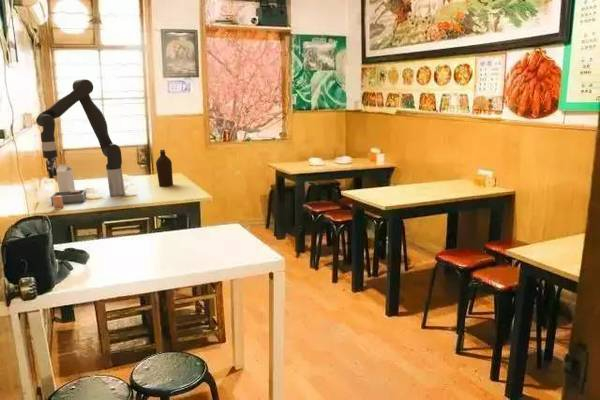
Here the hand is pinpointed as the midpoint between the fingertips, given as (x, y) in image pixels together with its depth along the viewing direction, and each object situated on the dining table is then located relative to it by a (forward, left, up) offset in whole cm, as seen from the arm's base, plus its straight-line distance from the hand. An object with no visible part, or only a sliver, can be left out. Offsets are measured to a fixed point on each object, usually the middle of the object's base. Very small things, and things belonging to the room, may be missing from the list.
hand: (53, 176), depth 288 cm
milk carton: (+3, -45, -19) cm, 49 cm away
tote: (-4, -16, -19) cm, 25 cm away
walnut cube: (-8, -16, -18) cm, 25 cm away
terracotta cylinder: (0, 0, -19) cm, 19 cm away
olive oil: (-62, -39, -19) cm, 76 cm away
